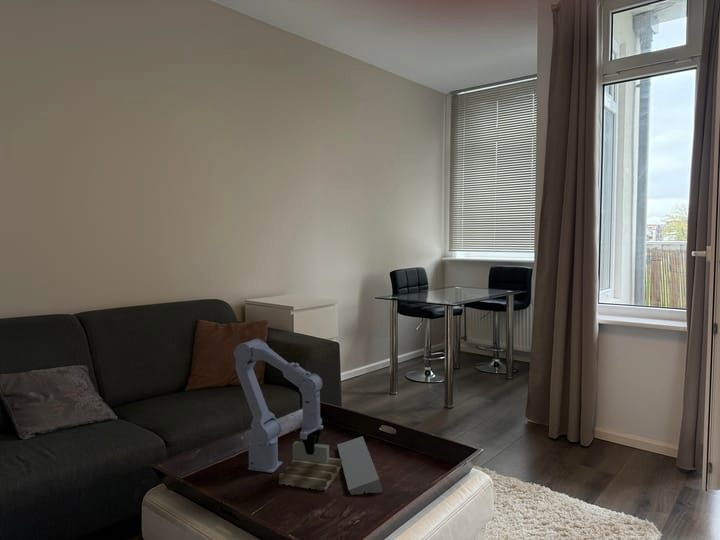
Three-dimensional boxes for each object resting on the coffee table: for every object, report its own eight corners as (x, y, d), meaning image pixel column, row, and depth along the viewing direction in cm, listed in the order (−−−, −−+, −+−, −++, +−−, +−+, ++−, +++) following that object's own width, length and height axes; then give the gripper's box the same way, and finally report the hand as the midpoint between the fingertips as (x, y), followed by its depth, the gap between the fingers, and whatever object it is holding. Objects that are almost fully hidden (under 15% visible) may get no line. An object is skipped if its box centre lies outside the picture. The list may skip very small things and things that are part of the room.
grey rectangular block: (352, 504, 155) (383, 493, 156) (348, 490, 154) (379, 479, 156) (340, 456, 188) (366, 447, 190) (337, 444, 188) (362, 436, 189)
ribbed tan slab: (278, 484, 161) (278, 474, 161) (299, 461, 178) (299, 453, 177) (325, 491, 157) (325, 481, 157) (342, 467, 173) (342, 458, 173)
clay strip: (292, 458, 167) (292, 444, 167) (295, 455, 170) (295, 441, 169) (326, 463, 164) (326, 448, 164) (329, 459, 166) (329, 445, 166)
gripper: (314, 421, 158) (314, 463, 159) (330, 406, 172) (330, 444, 172) (293, 418, 160) (294, 460, 161) (310, 404, 174) (311, 442, 174)
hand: (311, 452), depth 167 cm, fingers closed on clay strip, 2 cm apart
